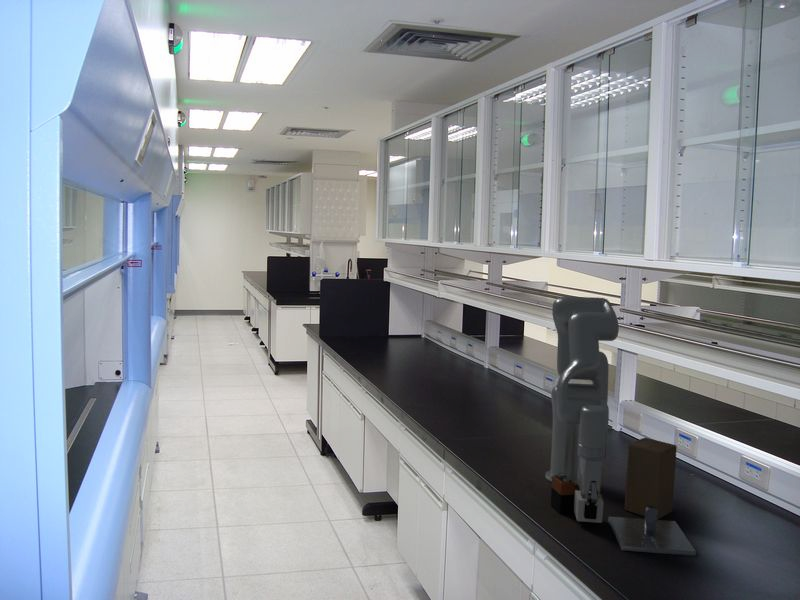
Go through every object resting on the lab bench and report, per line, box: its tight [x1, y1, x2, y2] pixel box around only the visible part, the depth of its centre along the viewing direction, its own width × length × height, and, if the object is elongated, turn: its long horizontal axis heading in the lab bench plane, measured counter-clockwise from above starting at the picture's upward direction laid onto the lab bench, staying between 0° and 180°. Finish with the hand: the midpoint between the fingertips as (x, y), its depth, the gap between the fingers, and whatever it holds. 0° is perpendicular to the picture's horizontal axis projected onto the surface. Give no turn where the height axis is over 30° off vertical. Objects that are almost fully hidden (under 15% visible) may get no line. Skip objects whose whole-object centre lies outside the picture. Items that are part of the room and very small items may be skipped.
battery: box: [550, 473, 576, 515], centre depth 199 cm, size 4×7×10 cm, turn 13°
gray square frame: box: [573, 489, 604, 524], centre depth 190 cm, size 7×7×6 cm
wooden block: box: [624, 437, 678, 520], centre depth 199 cm, size 10×10×20 cm
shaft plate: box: [607, 506, 697, 557], centre depth 182 cm, size 18×18×8 cm
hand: (588, 512), depth 191 cm, fingers closed on gray square frame, 6 cm apart
